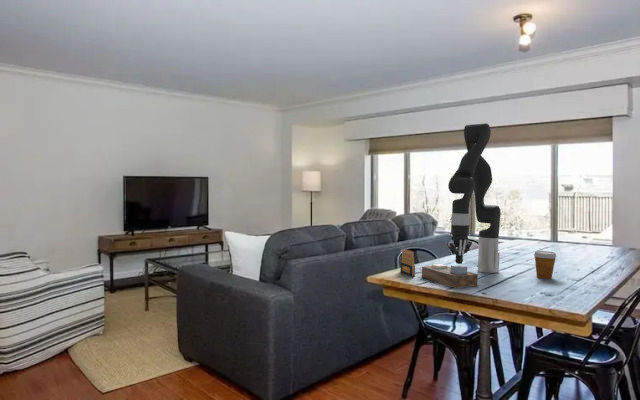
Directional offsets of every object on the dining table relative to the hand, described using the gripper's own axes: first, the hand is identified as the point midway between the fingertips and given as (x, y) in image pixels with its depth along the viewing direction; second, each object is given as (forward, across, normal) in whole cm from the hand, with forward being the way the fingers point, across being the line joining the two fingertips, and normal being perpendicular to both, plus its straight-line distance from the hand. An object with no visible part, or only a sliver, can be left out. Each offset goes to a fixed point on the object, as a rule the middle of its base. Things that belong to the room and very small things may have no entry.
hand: (459, 263), depth 189 cm
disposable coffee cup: (+9, -48, +6) cm, 49 cm away
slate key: (+5, 0, 0) cm, 5 cm away
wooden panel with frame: (+9, +8, -25) cm, 28 cm away
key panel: (+9, 0, -6) cm, 11 cm away
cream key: (+7, 0, -12) cm, 14 cm away
